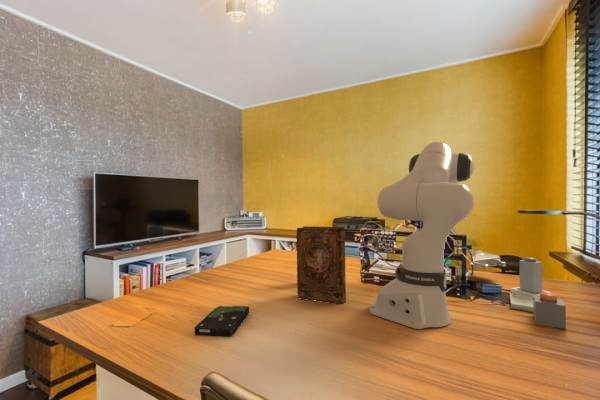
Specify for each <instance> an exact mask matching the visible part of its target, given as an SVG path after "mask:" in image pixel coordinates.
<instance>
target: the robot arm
mask: <svg viewBox="0 0 600 400" xmlns="http://www.w3.org/2000/svg"><path fill="white" fill-rule="evenodd" d="M407 168H408V174H407V175H406V176H405V177H402V179H399V180H398V181H397V182H395V183H393V184H390V185H388V186H387V185H386V186H384V187H383V188H382V189H381V190H380V192H379V193H378V196H377V201H376V202H377V208H378V211H379V213H380V214H381V215H382V216H383V217H384V218H388V219H393V220H398V221H419V222H420V221H421V224H420V230H418V231H415V232H413V233H411V234H409V235H407V236H406V237H405V238H404V240H403V241H402V245H401V249H402V250H401V251H402V254H401V256H402V262H401V263H400V264H398V265H397V267H396V268H395V270H394V275H395V276H396V278H394V279H392V280H391V281H389V282H388V283H386V284H385V285H383V286H382V287H380V289H379V290H378V293H377V297H376V299H375V300H374V301H372V303H371V304H370V305H369V307H368V308H369V310H368V312H369V313H370V314H371V315H374V316H377V317H379V318H383V319H385V320H388V321H391V322H394V323H398V324H399V325H400V324H401V325H403V326H407V327H410V328H412V329H415V330H416V329H417V330H421V329H422V330H423V329H426V328H443V327H446V326H448V325H450V324H451V323H452V317H451V314H450V311H449V307H448V302H447V297H446V290H447V274H446V273H447V271H446V269H445V264H444V249H445V242H446V239H447V237H448V235H449V233H450V231H451V230H452V231H453V233H456V234H457V232H456V231H455V230H454V228H455V227H456V226H458V224H459V223H461V222H462V221H464V220H465V219H466V218H468V217H469V216H470V215H471V213H472V211H473V210H474V209H473V208H474V205H475V198H474V195H473V192H472V191H471V189H470V188H469V187H468V186H467V185H466V184H463V183H459V182H466V181H468V180H469V179H470V178H471V176H472V174H473V172H474V170H475V164H474V160H473V159H472V156H471V154H469V153H464V152H459V153H455V152H454V153H453V152H452V150H451V148H450V147H449V145H447V144H446V143H444V142H442V141H434V142H431V143H429V144H427V145H426V146H425V147H424V148H423V149H422V151H421V152H420V153H417V154H415V155H413V156H412V157H411V158H410V160H409V163H408V167H407ZM421 229H422V230H421ZM470 250H471V253H472V258H473V264H474V269H473V270H475V269H480V270H489V267H495V266H498V267H502V268H503V267H504V268H505V267H507V266H506V264H507V263H506V261H501V259H502V258H501V257H500V256H499V255H497V254H493V253H489V252H484V251H482V250H481V249H480V250H479V249H470Z"/></svg>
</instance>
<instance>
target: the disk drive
mask: <svg viewBox="0 0 600 400" xmlns="http://www.w3.org/2000/svg"><path fill="white" fill-rule="evenodd" d="M248 313H249V314H250V307H249V306H245V305H244V306H241V305H239V306H238V305H232V306H222V305H219V306H216V308H214V309H212V311H211V312H210V313H208V314H207V315H206V316H205V317H204V318H203V319H202V320H201V321H200V322H198V323H197V325H196V326H194V336H201V337H203V336H204V337H219V338H220V337H223V338H225V337H226V338H232V337H233V336H234V334H236V332H237V330H238V329H239V328H240V326H241V325H242V324H243V322H244V321H245V320H246V319H247V317H248V316H249V315H248ZM247 315H248V316H247ZM246 316H247V317H246ZM244 319H245V320H244ZM243 320H244V321H243ZM241 323H242V324H241ZM238 327H239V328H238Z"/></svg>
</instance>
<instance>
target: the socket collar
mask: <svg viewBox="0 0 600 400" xmlns="http://www.w3.org/2000/svg"><path fill="white" fill-rule="evenodd" d="M542 292H547V293H552V294H553V292H551V291H547V290H544V289H542ZM510 294H515V295H520V296H527V297H533V295H535V294H531V293H528V292H524V291H521V290H520V286H518V287H511V288H510ZM536 295H538V296H540V294H536Z"/></svg>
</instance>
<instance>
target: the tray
mask: <svg viewBox="0 0 600 400" xmlns="http://www.w3.org/2000/svg"><path fill="white" fill-rule="evenodd" d="M509 300H510V302H509V303H510V308H511V309H514V310H519V311H525V312H532V313H533V297H527V296H520V295H514V294H511V293H510V294H509Z"/></svg>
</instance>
